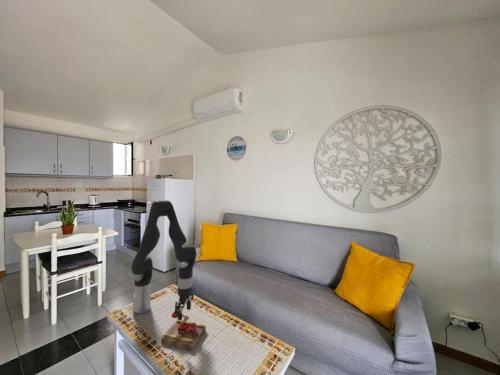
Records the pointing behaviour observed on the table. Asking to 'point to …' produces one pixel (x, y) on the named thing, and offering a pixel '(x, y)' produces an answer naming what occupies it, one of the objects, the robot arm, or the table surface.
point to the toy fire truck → (185, 325)
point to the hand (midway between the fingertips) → (184, 314)
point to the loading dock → (183, 336)
